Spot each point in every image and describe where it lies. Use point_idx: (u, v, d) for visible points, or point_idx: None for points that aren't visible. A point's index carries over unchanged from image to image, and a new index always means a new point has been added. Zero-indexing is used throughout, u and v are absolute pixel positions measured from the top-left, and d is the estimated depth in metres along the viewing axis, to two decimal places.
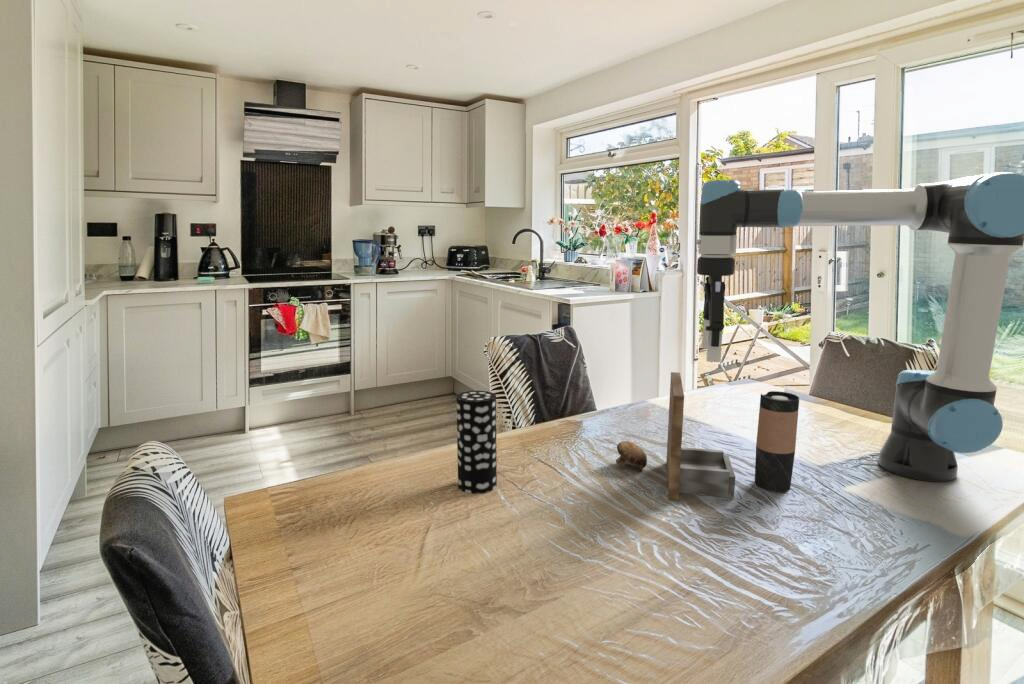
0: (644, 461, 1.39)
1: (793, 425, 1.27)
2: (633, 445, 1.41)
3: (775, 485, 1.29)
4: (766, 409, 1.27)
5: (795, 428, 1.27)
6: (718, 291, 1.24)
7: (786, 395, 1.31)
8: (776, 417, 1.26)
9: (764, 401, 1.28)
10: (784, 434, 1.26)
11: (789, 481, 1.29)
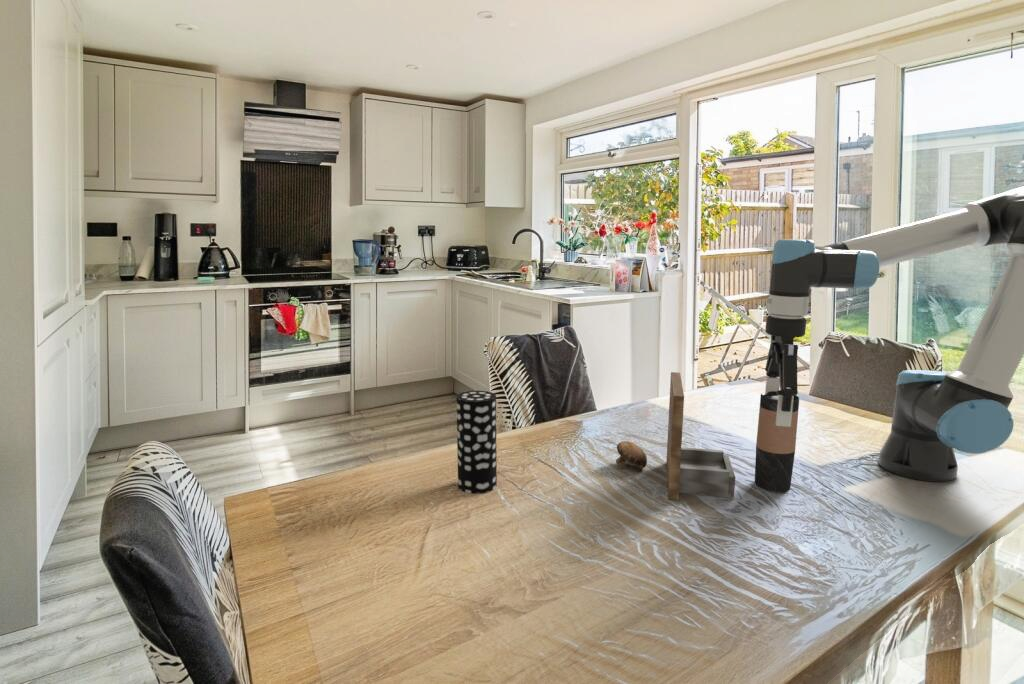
0: (644, 461, 1.39)
1: (793, 425, 1.27)
2: (633, 445, 1.41)
3: (775, 485, 1.29)
4: (766, 409, 1.27)
5: (795, 428, 1.27)
6: (791, 354, 1.20)
7: None
8: None
9: (764, 401, 1.28)
10: (784, 434, 1.26)
11: (789, 481, 1.29)
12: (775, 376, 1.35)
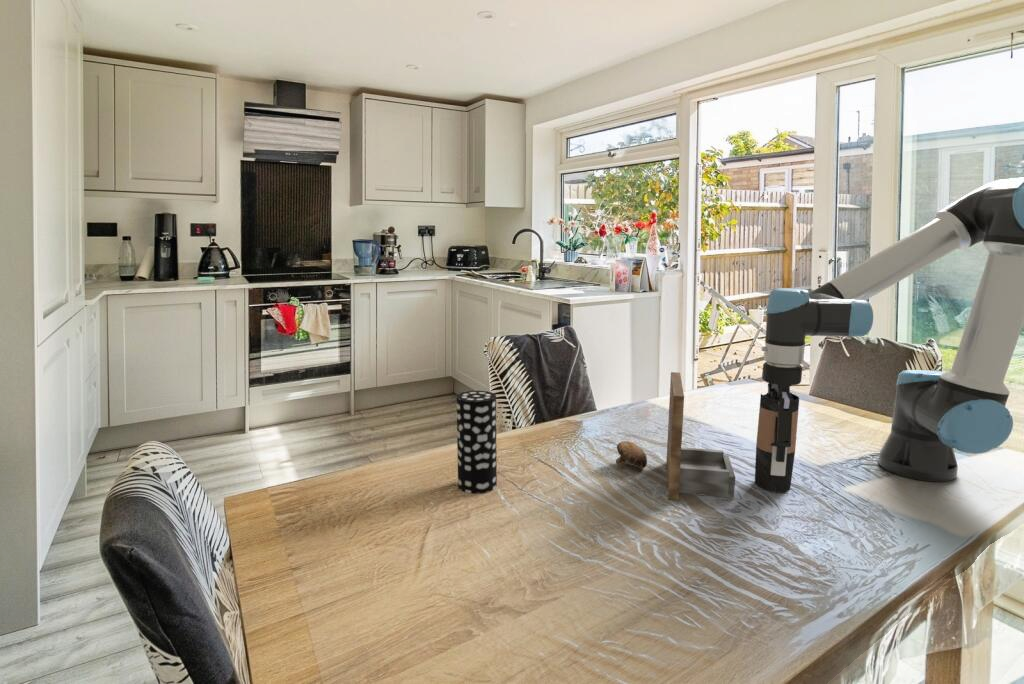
0: (644, 461, 1.39)
1: (794, 425, 1.27)
2: (633, 445, 1.41)
3: (775, 485, 1.29)
4: (766, 409, 1.27)
5: (795, 428, 1.27)
6: (786, 408, 1.23)
7: None
8: None
9: (764, 401, 1.28)
10: None
11: (789, 481, 1.29)
12: None
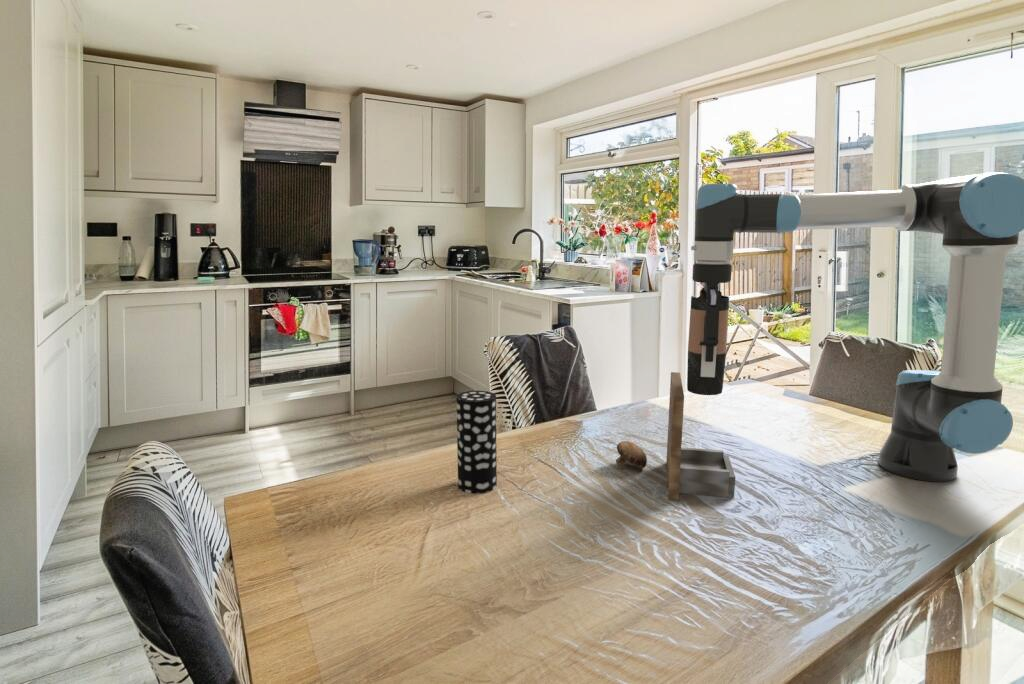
0: (644, 461, 1.39)
1: (723, 325, 1.24)
2: (633, 445, 1.41)
3: (705, 387, 1.26)
4: (696, 309, 1.25)
5: (725, 328, 1.25)
6: (714, 304, 1.20)
7: None
8: None
9: (693, 301, 1.25)
10: None
11: (720, 384, 1.27)
12: None
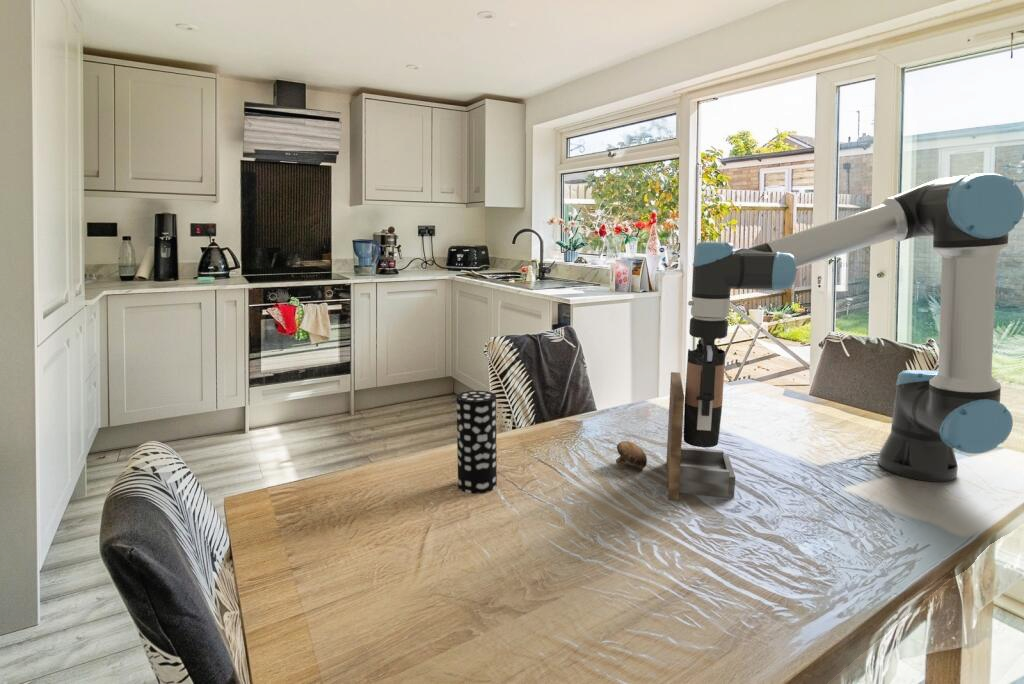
0: (644, 461, 1.39)
1: (719, 379, 1.26)
2: (633, 445, 1.41)
3: (702, 440, 1.28)
4: (692, 363, 1.27)
5: (721, 382, 1.27)
6: (710, 361, 1.22)
7: None
8: None
9: (690, 356, 1.27)
10: None
11: (716, 436, 1.29)
12: None
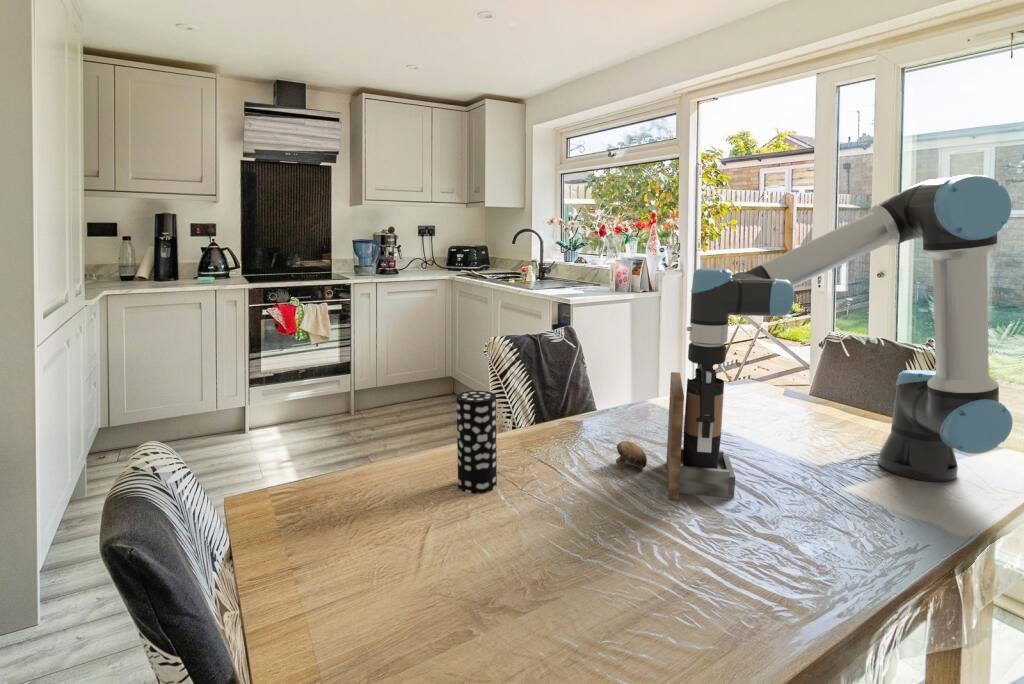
0: (644, 461, 1.39)
1: (718, 409, 1.27)
2: (633, 445, 1.41)
3: None
4: (691, 393, 1.28)
5: (720, 412, 1.28)
6: (709, 382, 1.23)
7: None
8: None
9: (689, 385, 1.29)
10: None
11: (715, 465, 1.30)
12: None
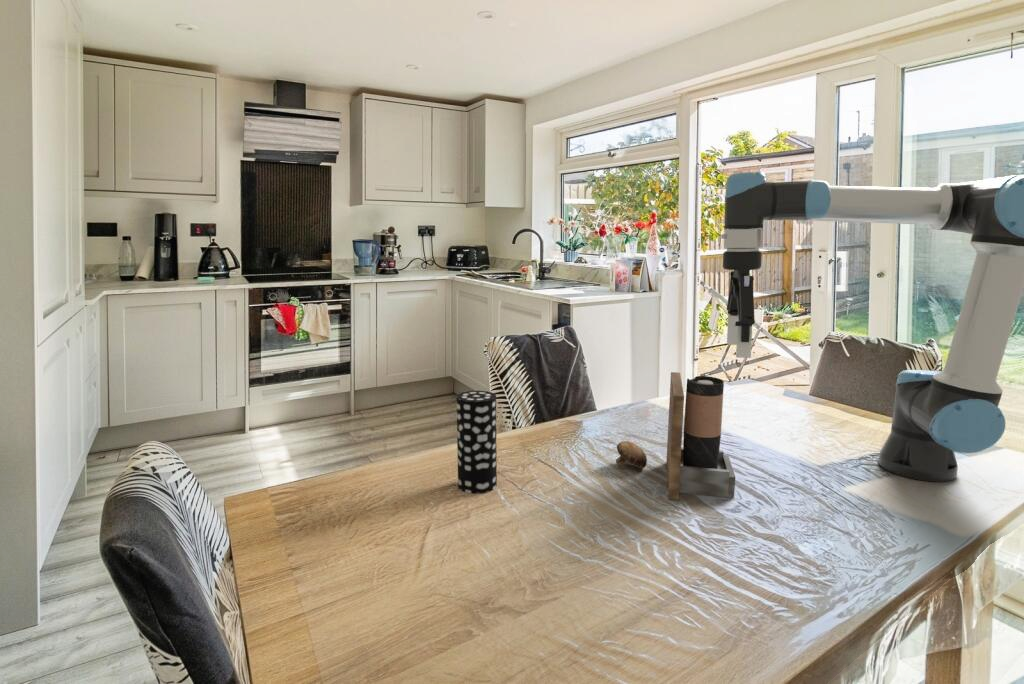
0: (644, 461, 1.39)
1: (718, 409, 1.27)
2: (633, 445, 1.41)
3: None
4: (691, 393, 1.28)
5: (719, 412, 1.28)
6: (747, 285, 1.22)
7: (713, 380, 1.32)
8: (700, 401, 1.27)
9: (689, 385, 1.29)
10: (708, 418, 1.27)
11: (715, 465, 1.30)
12: (736, 314, 1.37)
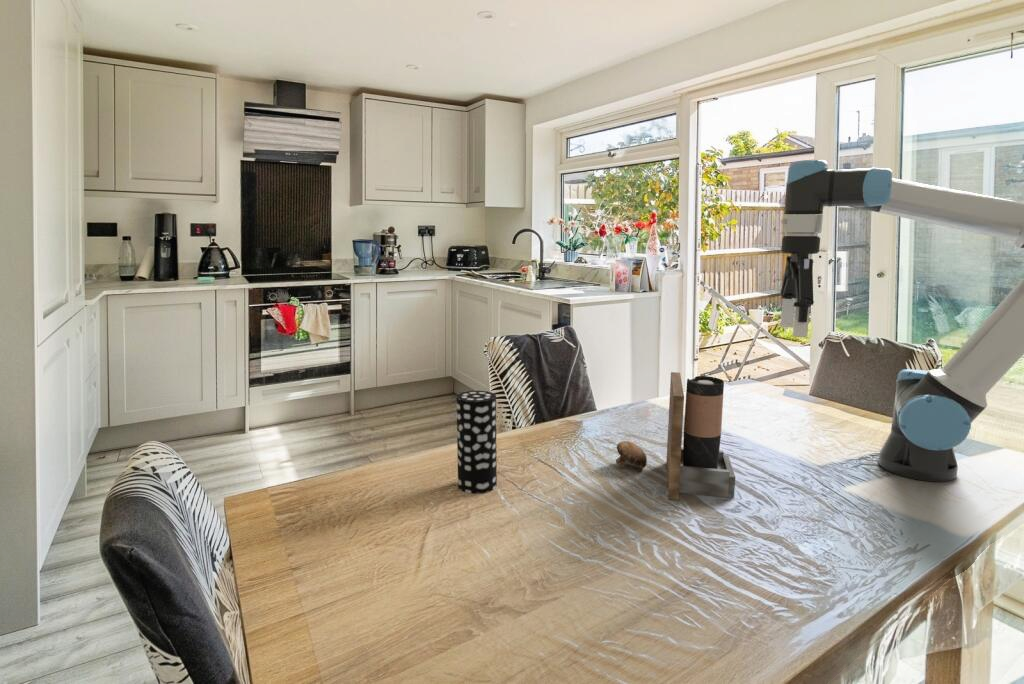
0: (644, 461, 1.39)
1: (718, 409, 1.27)
2: (633, 445, 1.41)
3: None
4: (691, 393, 1.28)
5: (720, 412, 1.28)
6: (806, 268, 1.28)
7: (713, 380, 1.32)
8: (700, 401, 1.27)
9: (689, 385, 1.29)
10: (708, 418, 1.27)
11: (715, 465, 1.30)
12: (790, 297, 1.42)
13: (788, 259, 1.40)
